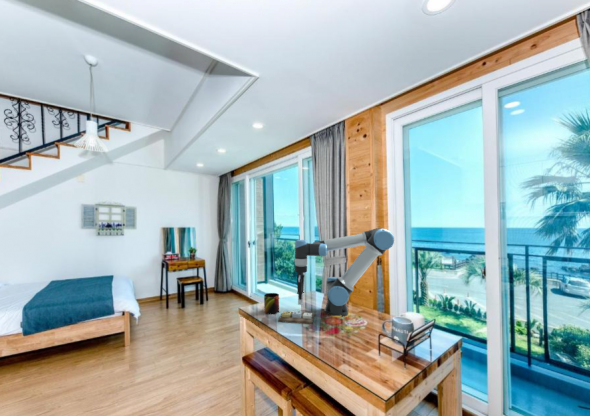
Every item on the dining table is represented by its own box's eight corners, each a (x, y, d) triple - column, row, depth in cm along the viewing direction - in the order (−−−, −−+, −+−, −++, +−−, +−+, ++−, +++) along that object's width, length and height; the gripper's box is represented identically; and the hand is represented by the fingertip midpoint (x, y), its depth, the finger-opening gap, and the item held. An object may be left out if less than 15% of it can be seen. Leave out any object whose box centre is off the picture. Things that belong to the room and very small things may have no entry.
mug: (273, 308, 184) (273, 290, 184) (281, 314, 171) (281, 295, 172) (260, 310, 179) (260, 292, 180) (267, 317, 167) (267, 298, 167)
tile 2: (312, 318, 162) (312, 312, 162) (311, 322, 157) (311, 315, 157) (304, 318, 163) (304, 312, 163) (302, 321, 158) (302, 315, 158)
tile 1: (291, 317, 164) (291, 311, 164) (289, 320, 159) (289, 314, 159) (283, 317, 165) (283, 311, 165) (281, 320, 160) (281, 314, 160)
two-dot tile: (301, 317, 163) (301, 311, 163) (300, 320, 158) (300, 313, 158) (293, 316, 164) (293, 310, 164) (292, 319, 159) (292, 313, 159)
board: (314, 317, 166) (314, 312, 166) (311, 326, 152) (311, 321, 152) (284, 315, 170) (283, 311, 170) (278, 323, 156) (278, 319, 156)
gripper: (296, 263, 169) (296, 300, 168) (292, 266, 156) (292, 307, 155) (308, 263, 167) (308, 301, 166) (305, 267, 154) (304, 308, 154)
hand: (300, 304), depth 161 cm, fingers closed
